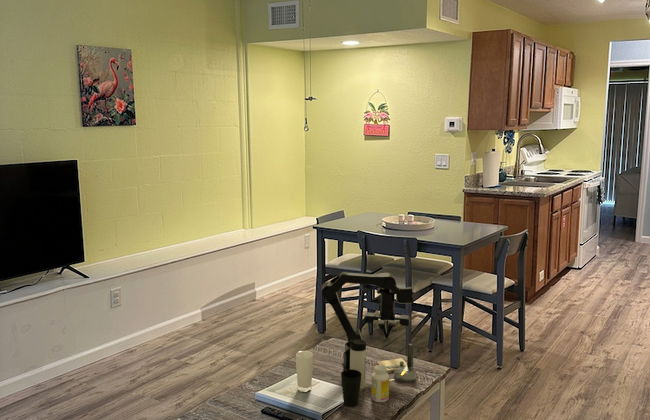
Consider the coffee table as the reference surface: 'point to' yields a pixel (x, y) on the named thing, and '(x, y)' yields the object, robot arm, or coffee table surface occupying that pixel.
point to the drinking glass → (304, 368)
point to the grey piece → (406, 368)
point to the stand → (392, 364)
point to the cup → (351, 387)
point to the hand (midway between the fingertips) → (386, 338)
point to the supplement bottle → (380, 384)
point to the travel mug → (358, 359)
